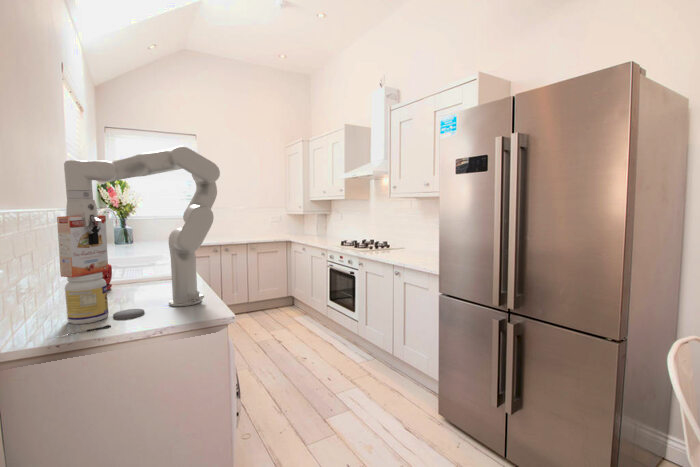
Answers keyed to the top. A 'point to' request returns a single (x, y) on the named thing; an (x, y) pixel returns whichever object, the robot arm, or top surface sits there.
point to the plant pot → (108, 276)
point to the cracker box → (80, 247)
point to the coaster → (128, 314)
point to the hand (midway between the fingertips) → (83, 244)
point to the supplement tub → (86, 298)
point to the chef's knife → (90, 329)
